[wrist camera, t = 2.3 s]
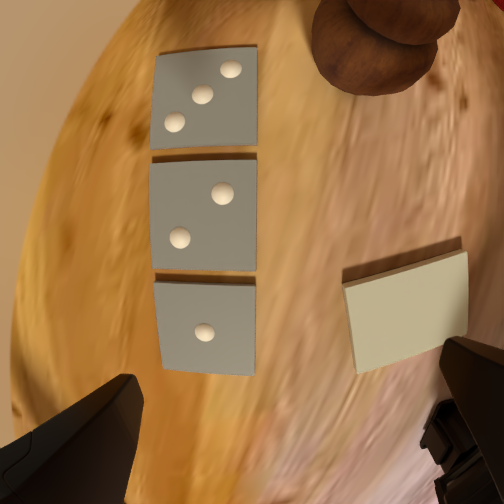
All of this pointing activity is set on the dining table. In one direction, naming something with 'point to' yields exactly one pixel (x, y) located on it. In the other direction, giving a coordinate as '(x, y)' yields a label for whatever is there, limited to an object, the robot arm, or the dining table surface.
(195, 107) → the pad
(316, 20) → the wooden figurine
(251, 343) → the pad
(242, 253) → the pad
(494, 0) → the plastic cup
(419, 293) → the folded napkin
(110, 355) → the dining table surface
